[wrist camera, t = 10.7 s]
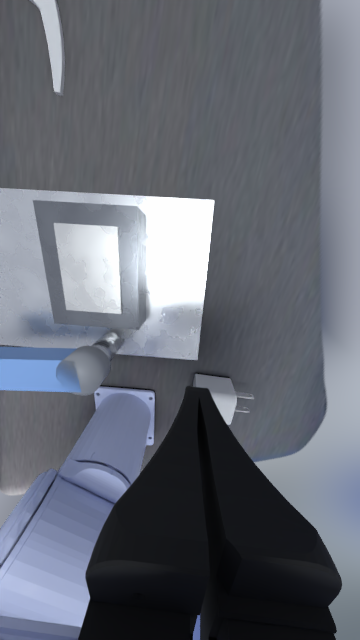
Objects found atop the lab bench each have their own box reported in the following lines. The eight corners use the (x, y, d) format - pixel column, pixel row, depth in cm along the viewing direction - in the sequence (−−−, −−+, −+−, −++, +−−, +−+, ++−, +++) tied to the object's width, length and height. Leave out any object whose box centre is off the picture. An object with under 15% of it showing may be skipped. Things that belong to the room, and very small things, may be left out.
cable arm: (108, 346, 16) (96, 357, 14) (112, 380, 17) (103, 396, 15) (-73, 342, 16) (-107, 353, 14) (-56, 375, 17) (-86, 389, 16)
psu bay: (197, 355, 22) (199, 383, 17) (4, 340, 22) (-47, 363, 17) (212, 203, 16) (222, 180, 12) (-38, 189, 17) (-128, 161, 12)
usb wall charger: (195, 371, 22) (196, 393, 19) (249, 378, 22) (262, 403, 19) (190, 396, 24) (191, 422, 20) (242, 403, 24) (252, 431, 20)
